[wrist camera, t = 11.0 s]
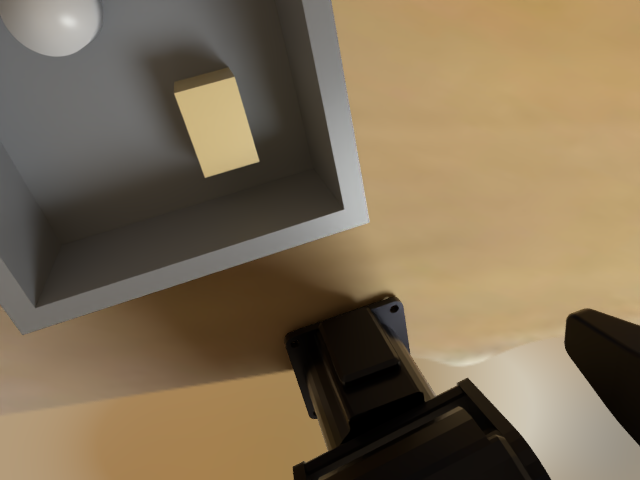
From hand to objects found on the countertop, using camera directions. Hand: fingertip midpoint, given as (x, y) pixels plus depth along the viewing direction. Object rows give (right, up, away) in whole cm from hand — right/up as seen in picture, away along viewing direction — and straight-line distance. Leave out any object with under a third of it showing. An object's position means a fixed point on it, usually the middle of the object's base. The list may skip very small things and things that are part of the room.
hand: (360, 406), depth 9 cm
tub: (-7, +9, +8) cm, 14 cm away
